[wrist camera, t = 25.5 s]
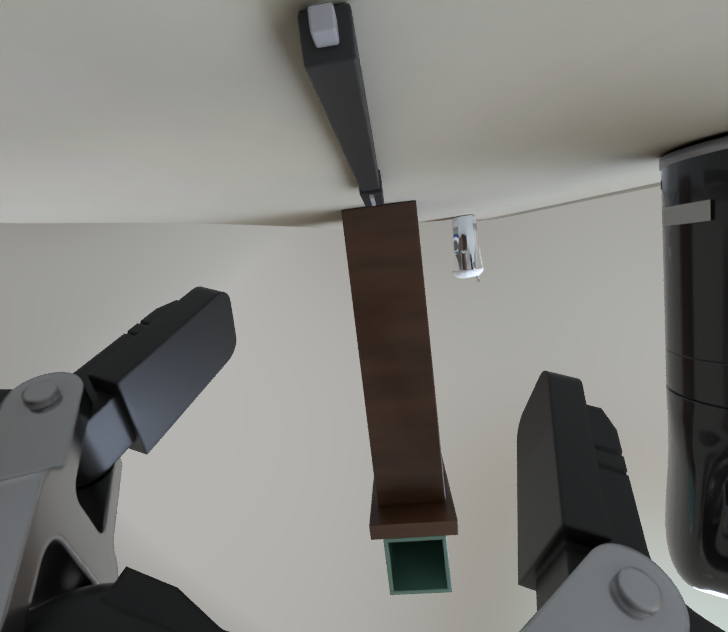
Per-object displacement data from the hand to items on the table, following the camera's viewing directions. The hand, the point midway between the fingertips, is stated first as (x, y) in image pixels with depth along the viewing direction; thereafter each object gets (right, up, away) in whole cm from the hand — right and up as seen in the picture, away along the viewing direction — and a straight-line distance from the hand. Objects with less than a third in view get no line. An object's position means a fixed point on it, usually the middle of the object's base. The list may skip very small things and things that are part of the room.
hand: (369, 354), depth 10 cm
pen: (0, +8, +8) cm, 11 cm away
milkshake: (+15, +16, +50) cm, 54 cm away
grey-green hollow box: (+5, -19, +35) cm, 40 cm away
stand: (+2, +12, +32) cm, 34 cm away
